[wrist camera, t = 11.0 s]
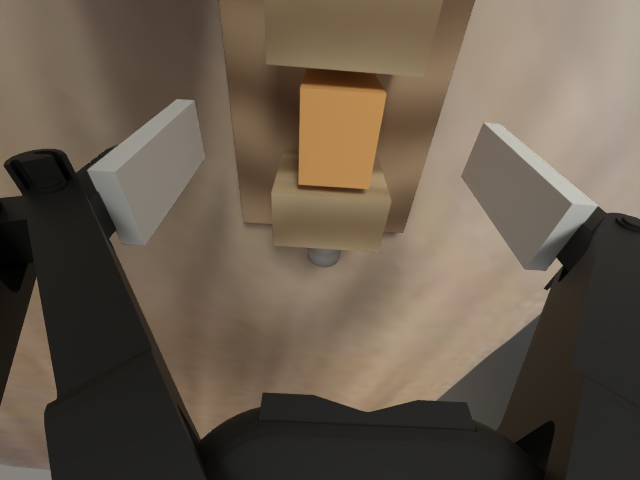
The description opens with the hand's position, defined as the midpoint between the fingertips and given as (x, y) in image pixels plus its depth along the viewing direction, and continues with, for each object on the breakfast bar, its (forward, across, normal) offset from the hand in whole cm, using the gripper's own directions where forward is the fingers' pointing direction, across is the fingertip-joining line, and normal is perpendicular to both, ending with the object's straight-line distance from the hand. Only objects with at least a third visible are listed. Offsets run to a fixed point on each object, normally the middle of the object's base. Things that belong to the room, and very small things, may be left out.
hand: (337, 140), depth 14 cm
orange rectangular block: (+7, 0, -1) cm, 7 cm away
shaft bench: (+8, 0, -1) cm, 8 cm away
